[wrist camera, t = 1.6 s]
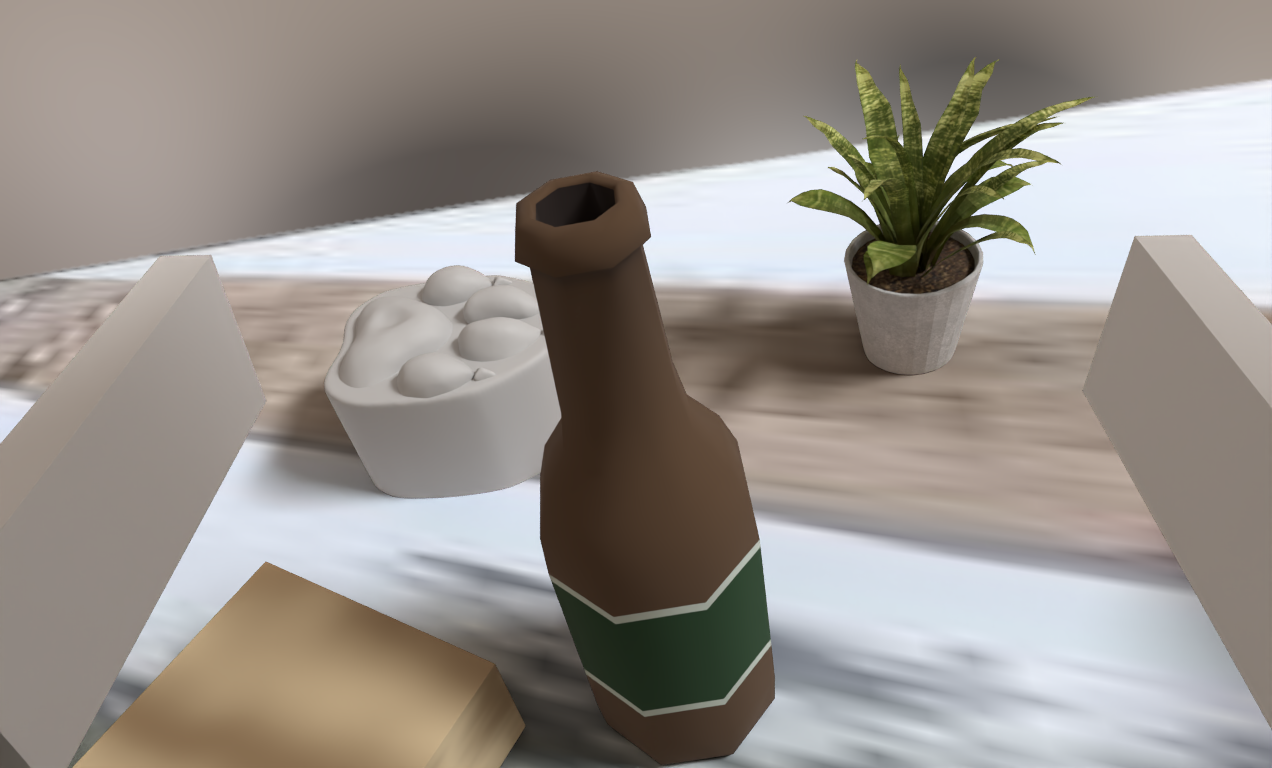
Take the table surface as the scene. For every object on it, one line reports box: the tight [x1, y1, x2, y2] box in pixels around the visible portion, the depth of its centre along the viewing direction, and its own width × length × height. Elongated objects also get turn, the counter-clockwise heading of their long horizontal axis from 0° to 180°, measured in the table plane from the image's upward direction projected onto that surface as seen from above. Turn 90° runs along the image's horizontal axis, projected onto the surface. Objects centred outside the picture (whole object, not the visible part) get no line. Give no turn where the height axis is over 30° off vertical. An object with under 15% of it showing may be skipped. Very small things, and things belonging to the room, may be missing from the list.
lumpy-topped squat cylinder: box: [324, 265, 561, 498], centre depth 50 cm, size 10×13×9 cm
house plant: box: [788, 58, 1093, 375], centre depth 46 cm, size 14×14×16 cm
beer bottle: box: [515, 171, 775, 765], centre depth 31 cm, size 8×8×24 cm
